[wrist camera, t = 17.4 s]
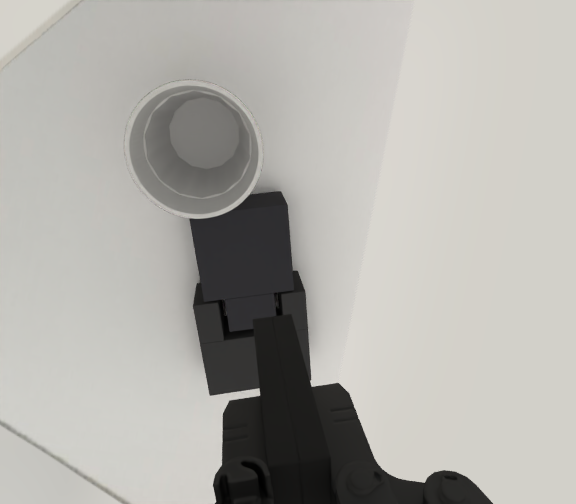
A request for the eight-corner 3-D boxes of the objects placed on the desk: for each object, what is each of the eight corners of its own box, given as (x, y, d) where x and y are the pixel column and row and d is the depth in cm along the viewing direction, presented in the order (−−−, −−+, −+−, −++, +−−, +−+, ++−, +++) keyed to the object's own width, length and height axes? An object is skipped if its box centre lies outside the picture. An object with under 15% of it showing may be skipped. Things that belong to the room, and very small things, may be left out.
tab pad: (193, 200, 37) (188, 214, 33) (280, 191, 38) (287, 204, 34) (211, 310, 42) (209, 335, 37) (290, 299, 42) (296, 322, 38)
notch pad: (196, 283, 40) (192, 305, 36) (297, 270, 41) (305, 291, 37) (211, 366, 44) (209, 395, 40) (303, 353, 45) (311, 380, 41)
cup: (184, 61, 33) (161, 48, 22) (269, 115, 35) (288, 129, 24) (141, 149, 35) (101, 178, 24) (224, 194, 37) (223, 240, 26)
